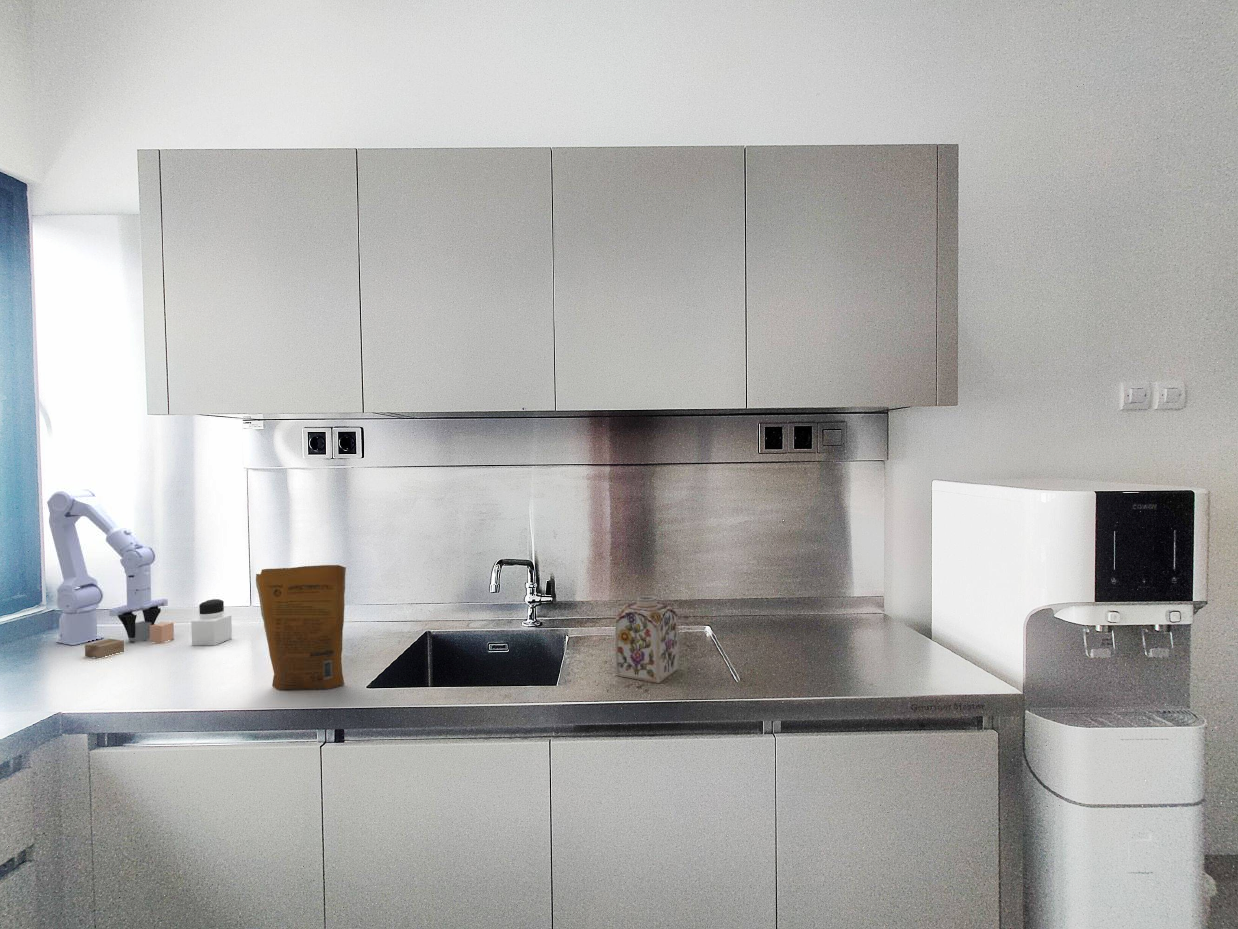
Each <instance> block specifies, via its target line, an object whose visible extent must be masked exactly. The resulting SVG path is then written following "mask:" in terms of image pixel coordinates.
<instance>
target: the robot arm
mask: <svg viewBox="0 0 1238 929" xmlns="http://www.w3.org/2000/svg"><path fill="white" fill-rule="evenodd" d="M46 503H47V508H48V512H49V517H48V524H49V528H50V532H51V536H52V540H53V544H54V547H55V551H56V555H57V559H58V564H59V567H60V570H61V574H62V578H63V582H61V584H60V585H59V586H58V587H57V589H56V593H57V598H56V606H57V608H58V609H59V610H60V611H62V614H61V615H60V616H59V618H58V629H59V630H58V633H59V634H58V637H59V639H56V640H55V643H59V644H64V645H69V646H75V645H81V644H85V643H89V642H88V641H90V642H93V641H92V640H94V641H97V640H96V639H98V640H102V639H101V638H103V639H105V636H104V635H103V636H102V635H98V613H97V612H98V609H97V608H99V605H100V603H102V601H103V599H104V592H103V589H102V588H101V587H100V585H99V583H98V580H97V579H95V577H92V576H90V575H89V574H88V573H89V572H88V570H87V566H86V563H85V559H84V553H83V551H82V546H81V542H80V539H79V535H78V532H77V527H76V523H77V522H78V521H79V519H80V518H82V517H86V518H87V519H89V521H90V522H91V523H93V524H94V525H95V526H96V527H97V528H98V529H99V530H101V531H102V532H103V533H104V534H105V535H106V537H105V542H106V543H107V544H108V545H109V546H110V547H111V548H112V549H113V550H114V551H115V552H116V553H117V554H118V556H119V557H121V559H120V560H119V562H120V564H121V566H122V567H123V569H124V573H125V577H126V578H125V580H126V582H125V583H126V604H125V605H122V606H118V607H113V608H110V609H109V610H108V614H109V615H108V616H109V617H114V618H115V617H117V618H118V619H119V620H120V622H121V623H122V625H123V627H124V629H125V631H126V634H127V638H128V639H129V638H135V623H136V622H137V621H136V619H137V617H138V616H137V614H134V613H135V612H140V611H142V614H143V619H144V620H143V621H146V622H151V625H154V624H156V621H157V618H158V617H159V614H160V613H162V612H161V609H162V608H160V607H167V606H168V598H161V599H154V600H152V580H151V579H152V577H151V576H152V575H151V574H152V573H151V572H152V570H151V565H152V564H153V563H154V562H155V559H156V553H155V551H154V550H153V548H152V547H150V546H147V545H146V546H145V545H143V544H142V543H141V542H140V541H139V540H137V538H136V537H135V536H133V534H132V533H133V532H132V531H131V530H130V529H127V528H125V527H119V526H118V525H117V523H116V522H115V521H114V520H113V519H112V517H111V516H110V515H109V514H108V512H107V511H106V510H105V509H104V507H103V506H102V505H101V499H100V498H99V497H98V496H97V495H96V493H95V492H94V491H93V490H91V489H82V490H68V491H67V490H65V491H63V490H59V491H56V492H54V493H53V494H52V495H51V497H50V498H49V499H48V500H47V502H46Z"/></svg>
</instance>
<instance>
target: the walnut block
mask: <svg viewBox="0 0 1238 929" xmlns="http://www.w3.org/2000/svg"><path fill="white" fill-rule="evenodd" d="M120 652H123V653H124V652H125V640H121V639H114V638H106V639H101V640H97V641H93V642H91V643H86V644H84V657H85V656H87V657H86V658H89V657H95V658H94V659H97V658H102V657H105V656H109V655H112V654H116V653H120ZM120 654H121V653H120ZM116 655H117V654H116ZM109 657H110V656H109ZM105 658H106V657H105ZM102 659H103V658H102Z"/></svg>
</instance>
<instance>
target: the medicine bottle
mask: <svg viewBox="0 0 1238 929" xmlns="http://www.w3.org/2000/svg"><path fill="white" fill-rule="evenodd" d="M224 605H225V604H224V600H222V599H218V598H217V599H216V598H215V599H214V598H212V599H207V600H203V601H201V602H199V603H198V616H199V617H198V618H197V617H196V618H195V619H191V624H190V625H191V645H192V646H217V645H219V643H220V644H223V642H224V641H225V642H227V641H230V640H232V638H233V637H232V636H233V634H232V633H233V632H232V631H233V630H232V629H233V628H232V626H233V625H232V615H231V614H224V613H225V609H224V608H225V606H224ZM226 640H227V641H226ZM225 642H224V643H225Z"/></svg>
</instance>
